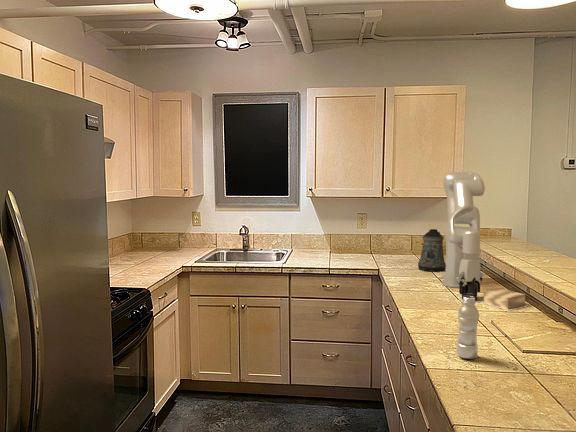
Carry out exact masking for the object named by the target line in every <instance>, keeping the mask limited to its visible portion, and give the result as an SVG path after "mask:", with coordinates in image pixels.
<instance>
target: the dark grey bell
mask: <svg viewBox="0 0 576 432" xmlns="http://www.w3.org/2000/svg"><path fill="white" fill-rule="evenodd" d="M444 238H445V237H443V235H442V234H441V232H440V231H438V229H437V228H436V229H434V228H431V229H429V231H428V232H426V233H425V234H423V236H422V240H423V241H422V242H423V244H422V248H421V253H420V257H419V261H418V262H417V267H418V270H420V271H422V272H427V273H443V272H446V260H445V256H444V247H443V244H444V242H443V241H444Z"/></svg>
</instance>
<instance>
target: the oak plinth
mask: <svg viewBox="0 0 576 432" xmlns="http://www.w3.org/2000/svg"><path fill="white" fill-rule="evenodd" d="M483 301H484V303H487V304H491V305H494V306H498V307H501V308H505V309H512V308H516V307H521V306H525V305H526V294H525V293H520V292H517V291H513V290H509V289H504V288H498V289H493V290H488V291H483ZM484 303H483V304H484ZM487 304H486V305H487ZM491 305H490V306H491ZM494 306H493V307H494ZM498 307H497V308H498ZM501 308H500V309H501ZM505 309H504V310H505Z"/></svg>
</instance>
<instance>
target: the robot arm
mask: <svg viewBox="0 0 576 432" xmlns="http://www.w3.org/2000/svg"><path fill="white" fill-rule="evenodd" d="M442 182H443V183H442V184H443V185H442V186H443V189H444V192H445V195H446V199H447V201H446V202H447V203H446V204H447V206H446V207H447V210H446V211H447V228H445V231H444V238H445V264H446V267H445V271H444V272H445V273H444V274H442V275H441V276H440V280H441V279H442V280H443V281H442V282H441V285H442V286H444V287H448V288H455V289H457V288H458V290H459V292H458V293H459V294H460V295H461V296H462V295H466V286H465V285H466V283H467V282H471V281H472V280H473V279H474V277H475V279H476V281H475V282H476V283H477V284H478V292H477V293H480V292H481V284H482V282H483V279H484V278H483V277H484V273H483V272H482V271H481V270H482V269H481V267H482V266H481V259H480V258H481V257H480V256H481V254H480V253H481V214H480V210H479V208H478V207H477V206H475V205H474V197H482V196H483V195H484V194H485V190H486V188H485V187H486V186H485V183H484V180H483V179H482V177H481V176H480V174H479V173H478V172H470V171H469V172H468V171H466V172H461V171H460V172H455V171H453V172H449V173H446V174H444V176H443V180H442ZM456 225H457V226H456ZM458 225H459V226H458ZM460 225H461V226H460ZM463 225H469V226H463ZM463 282H464V283H463Z"/></svg>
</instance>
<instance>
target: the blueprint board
mask: <svg viewBox="0 0 576 432" xmlns="http://www.w3.org/2000/svg"><path fill="white" fill-rule="evenodd" d="M479 303H481V304H484V305H488V306H491V307H495V308H498V309H502V310H504V311H509V312H513V311H517V310H521V309H526V308H529V307H531V305H528V304H525V306H521V307H516V308H512V309H505V308H501V307H498V306H494V305H491V304H487V303H484V300H482V301H479Z"/></svg>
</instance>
